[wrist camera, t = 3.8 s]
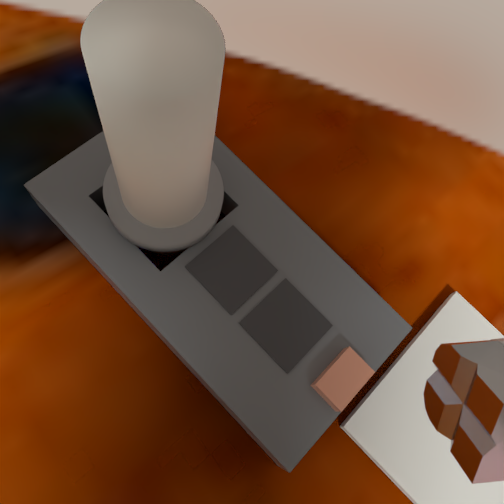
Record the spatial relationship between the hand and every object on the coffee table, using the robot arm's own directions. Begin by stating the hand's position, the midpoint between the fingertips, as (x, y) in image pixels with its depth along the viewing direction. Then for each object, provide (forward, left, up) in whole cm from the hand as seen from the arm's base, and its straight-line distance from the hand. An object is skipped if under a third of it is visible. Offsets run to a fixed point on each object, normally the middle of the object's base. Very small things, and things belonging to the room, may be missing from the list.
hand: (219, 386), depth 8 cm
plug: (+8, -5, -15) cm, 18 cm away
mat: (-11, -9, -15) cm, 21 cm away
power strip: (+4, -5, -15) cm, 17 cm away
